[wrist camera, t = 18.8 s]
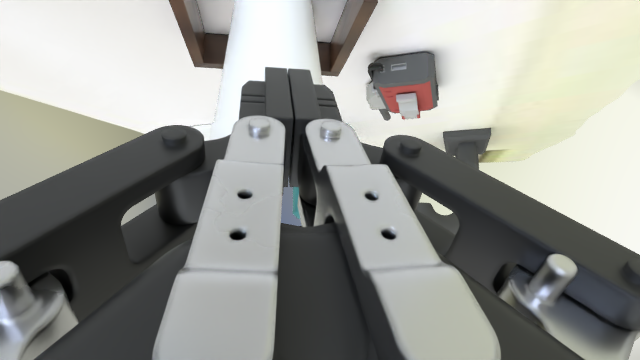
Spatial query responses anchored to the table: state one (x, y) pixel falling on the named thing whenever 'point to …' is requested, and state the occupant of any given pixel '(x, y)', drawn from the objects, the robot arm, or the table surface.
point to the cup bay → (213, 46)
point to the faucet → (466, 150)
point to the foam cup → (264, 51)
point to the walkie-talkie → (403, 85)
